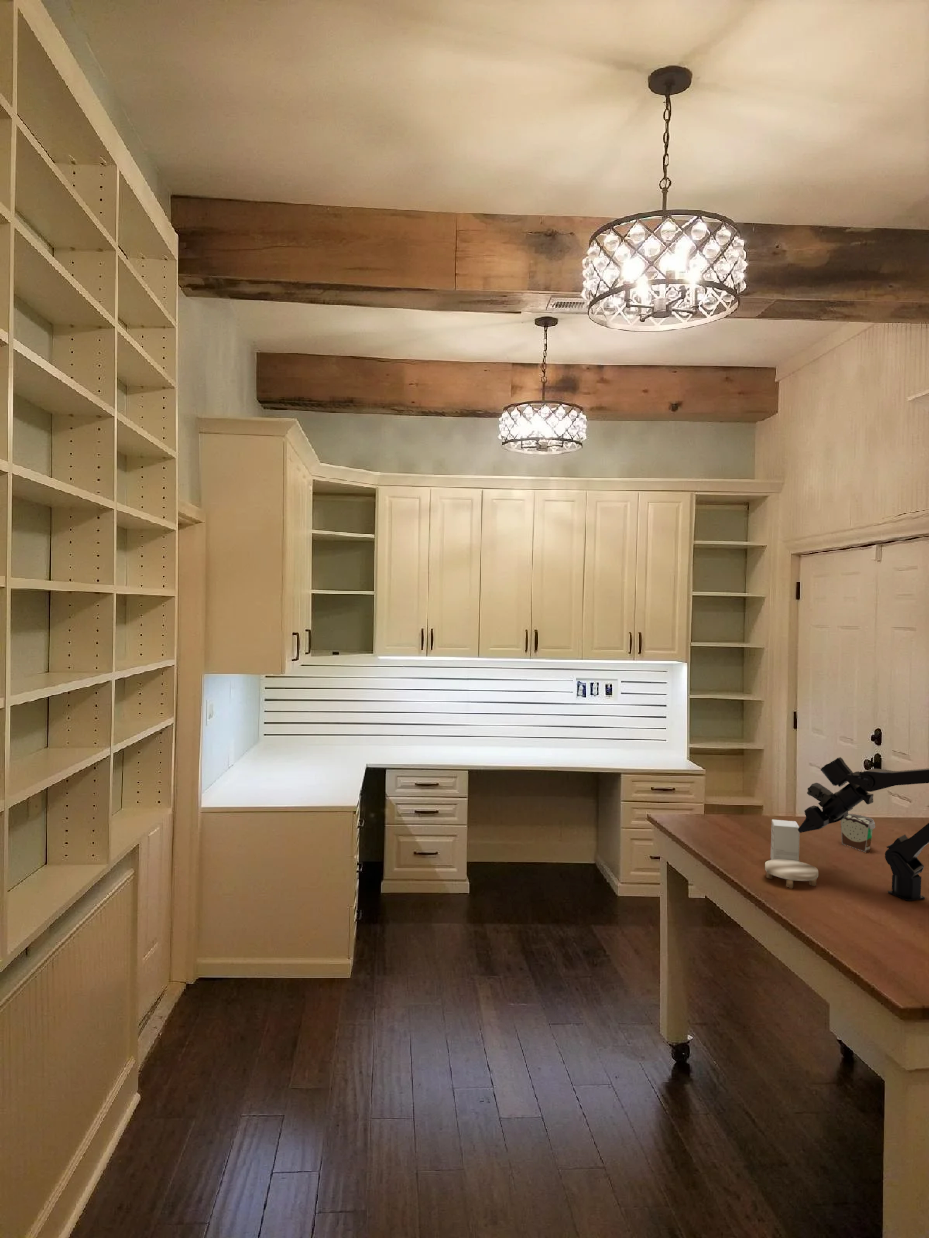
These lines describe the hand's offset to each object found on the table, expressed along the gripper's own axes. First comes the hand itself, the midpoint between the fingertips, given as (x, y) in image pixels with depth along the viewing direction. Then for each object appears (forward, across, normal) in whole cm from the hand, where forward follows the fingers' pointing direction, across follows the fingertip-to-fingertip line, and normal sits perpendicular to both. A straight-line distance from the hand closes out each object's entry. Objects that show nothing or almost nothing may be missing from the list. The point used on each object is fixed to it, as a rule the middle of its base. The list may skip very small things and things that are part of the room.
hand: (805, 828), depth 235 cm
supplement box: (+13, 0, +5) cm, 14 cm away
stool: (+7, +14, +10) cm, 18 cm away
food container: (+7, -38, +10) cm, 40 cm away
